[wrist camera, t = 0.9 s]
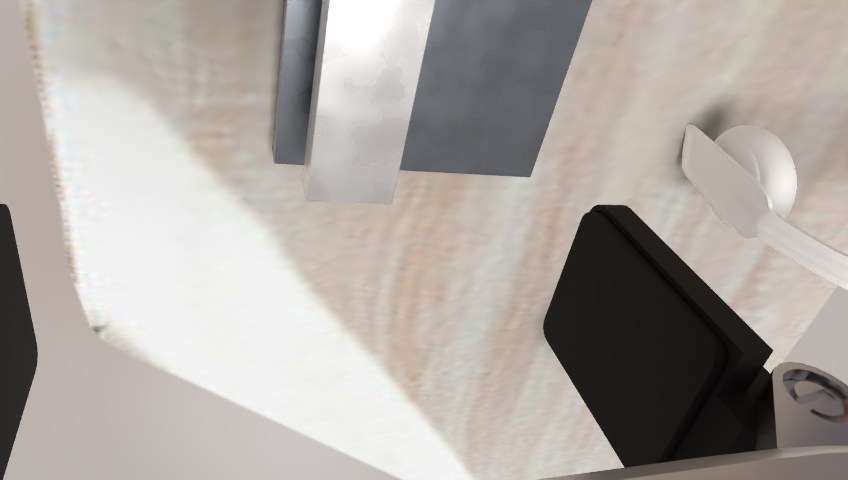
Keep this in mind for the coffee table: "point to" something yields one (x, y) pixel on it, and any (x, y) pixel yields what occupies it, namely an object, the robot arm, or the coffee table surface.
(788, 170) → the headset
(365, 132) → the swing bar
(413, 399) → the coffee table surface
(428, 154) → the dark grey base plate
